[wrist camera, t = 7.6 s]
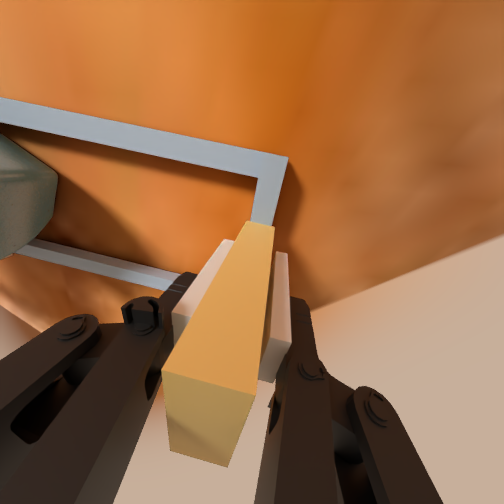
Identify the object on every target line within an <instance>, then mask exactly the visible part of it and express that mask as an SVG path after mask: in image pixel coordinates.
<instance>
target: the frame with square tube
mask: <svg viewBox="0 0 504 504" xmlns="http://www.w3.org/2000/svg"><path fill="white" fill-rule="evenodd" d="M0 122H2V123H7V124H11V125H16V126H21V127H25V128H30V129H35V130H39V131H44V132H48V133H53V134H58V135H62V136H67V137H72V138H76V139H81V140H86V141H90V142H95V143H99V144H104V145H109V146H113V147H118V148H123V149H127V150H132V151H136V152H141V153H146V154H150V155H155V156H160V157H164V158H169V159H173V160H178V161H183V162H187V163H192V164H197V165H201V166H206V167H210V168H215V169H220V170H224V171H229V172H234V173H238V174H243V175H248V176H252V177H257V178H258V182H257V187H256V192H255V198H254V203H253V208H252V214H251V219H250V221H246V222H245V224H244V226H243V228H242V229H241V231H240V233H239V235H238V236H237V238H236V240H235V242H234V243H233V245H232V247H231V249H230V250H229V252H228V254H227V256H226V257H225V259H224V261H223V263H222V264H221V266H220V268H219V270H218V271H217V273H216V275H215V277H214V278H213V280H212V282H211V284H210V285H209V287H208V289H207V291H206V292H205V294H204V296H203V298H202V299H201V301H200V303H199V305H198V306H197V308H196V310H195V312H194V313H193V315H192V317H191V319H190V320H189V322H188V324H187V326H186V327H185V329H184V331H183V333H182V334H181V336H180V338H179V340H178V341H177V343H176V345H175V347H174V348H173V350H172V352H171V354H170V355H169V357H168V359H167V361H166V362H165V364H164V366H163V368H162V369H161V372H162V381H163V390H164V399H165V408H166V417H167V426H168V435H169V445H170V451H173V452H176V453H180V454H183V455H187V456H190V457H193V458H197V459H200V460H203V461H207V462H210V463H214V464H217V465H221V466H224V467H228V465H229V462H230V459H231V457H232V454H233V451H234V449H235V447H236V444H237V442H238V439H239V437H240V434H241V432H242V429H243V426H244V424H245V421H246V419H247V417H248V414H249V412H250V409H251V406H252V404H253V401H254V399H255V396H256V389H257V380H258V372H259V363H260V354H261V346H262V337H263V328H264V319H265V310H266V302H267V293H268V284H269V275H270V266H271V258H272V249H273V240H274V231H275V227H272V222H273V218H274V214H275V210H276V206H277V202H278V198H279V194H280V190H281V186H282V182H283V178H284V174H285V170H286V166H287V162H288V158H289V157H285V156H280V155H275V154H270V153H265V152H260V151H256V150H251V149H246V148H241V147H236V146H232V145H227V144H222V143H217V142H213V141H208V140H203V139H198V138H193V137H189V136H184V135H179V134H174V133H170V132H165V131H160V130H155V129H150V128H146V127H141V126H136V125H131V124H127V123H122V122H117V121H112V120H107V119H103V118H98V117H93V116H88V115H83V114H79V113H74V112H69V111H64V110H60V109H55V108H50V107H45V106H40V105H36V104H31V103H26V102H21V101H17V100H12V99H7V98H2V97H0ZM14 253H16V254H20V255H24V256H28V257H32V258H36V259H40V260H44V261H48V262H52V263H56V264H60V265H64V266H68V267H72V268H76V269H80V270H84V271H88V272H92V273H96V274H100V275H104V276H108V277H112V278H116V279H120V280H124V281H128V282H132V283H136V284H140V285H144V286H148V287H152V288H156V289H160V290H164V291H166V290H167V289H168V287H169V286H170V285H171V284H172V283H173V282H174V280H175V279H176V278H177V277H178V276H180V275H181V274H178V273H174V272H169V271H165V270H161V269H157V268H153V267H149V266H145V265H141V264H137V263H133V262H129V261H125V260H121V259H117V258H113V257H108V256H104V255H100V254H96V253H92V252H88V251H84V250H80V249H76V248H72V247H68V246H64V245H60V244H56V243H52V242H47V241H43V240H39V239H35V238H34V239H32V240H31V241H30V242H29V243H28V244H26V245H25V246H24V247H22V248H21V249H19V250H17V251H16V252H14Z"/></svg>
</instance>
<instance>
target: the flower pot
mask: <svg viewBox="0 0 504 504" xmlns="http://www.w3.org/2000/svg"><path fill="white" fill-rule="evenodd" d="M57 183H58V175H57V174H56V172H55V171H54V170H52V169H51V168H50V167H48V166H47V165H45V164H44V163H42V162H41V161H39V160H38V159H37V158H35V157H34V156H32V155H31V154H29V153H28V152H26V151H25V150H24V149H22V148H21V147H19V146H18V145H17V144H15V143H14V142H12V141H11V140H10V139H8V138H7V137H5V136H4V135H2V134H1V133H0V259H2V258H4V257H6V256H8V255H10V254H12V253H14V252H16V251H17V250H19V249H21V248H22V247H24V246H25V245H26V244H28V243H29V242H30V241H31V240H32V239H34V238H35V237H36V236H37V235H38V234H39V233H40V232H41V230H42V229H43V228H44V227H45V226H46V224H47V223H48V222H49V221H50V219H51V218H52V216H53V211H54V203H55V195H56V189H57Z"/></svg>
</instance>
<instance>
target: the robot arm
mask: <svg viewBox="0 0 504 504" xmlns="http://www.w3.org/2000/svg"><path fill="white" fill-rule="evenodd" d="M234 242H235V241H232V240H227V239H224V240H223V241H222V242H221V244H220V245H219V247H218V248H217V249H216V251H215V252H214V254H213V255H212V256H211V258H210V259H209V260H208V262H207V263H206V265H205V266H204V267H203V269H202V270H201V272H200V273H199V274H194V273H190V272H185V273H183V274H181V275H180V276H178V277H177V278H176V279H175V280H174V282H173V283H172V284H171V285H170V286H169V287H168V289H167V290H166V291H165V292H164V293H163V294H162V295H161V296H160V298H159V299H158V298H154V297H139V298H135V299H133V300H131V301H129V302H127V303H126V304H125V305H123V306H122V307H121V310H122V315H123V319H124V323H109V324H99V322H98V319H97V318H96V317H95V316H93V315H89V314H81V315H75V316H71V317H68V318H65V319H64V320H62V321H60V322H58V323H56V324H55V325H53V326H51V327H50V328H48V329H47V330H45V331H44V332H42V333H41V334H39V335H38V336H36V337H35V338H33V339H32V340H30V341H29V342H27V343H26V344H24V345H23V346H21V347H20V348H18V349H17V350H15V351H14V352H12V353H10V354H9V355H7V356H6V357H5V358H3V359H1V360H0V504H113V502H114V499H115V497H116V494H117V492H118V489H119V487H120V484H121V482H122V479H123V477H124V474H125V472H126V469H127V466H128V464H129V462H130V459H131V457H132V454H133V452H134V449H135V447H136V444H137V442H138V439H139V437H140V434H141V432H142V429H143V427H144V424H145V422H146V419H147V417H148V414H149V411H150V409H151V407H152V404H153V402H154V399H155V397H156V394H157V392H158V389H159V387H160V384H161V382H162V372H161V369H162V368H163V366H164V364H165V362H166V361H167V359H168V357H169V355H170V354H171V352H172V350H173V348H174V347H175V345H176V343H177V341H178V340H179V338H180V336H181V334H182V333H183V331H184V329H185V327H186V326H187V324H188V322H189V320H190V319H191V317H192V315H193V313H194V312H195V310H196V308H197V306H198V305H199V303H200V301H201V299H202V298H203V296H204V294H205V292H206V291H207V289H208V287H209V285H210V284H211V282H212V280H213V278H214V277H215V275H216V273H217V271H218V270H219V268H220V266H221V264H222V263H223V261H224V259H225V257H226V256H227V254H228V252H229V250H230V249H231V247H232V245H233V243H234ZM310 317H311V315H310V309H309V307H308V305H307V304H306V302H305V300H303V299H299V298H295V297H291V296H289V276H288V254H287V253H283V252H279V251H276V254H275V257H274V261H273V264H272V268H271V271H270V275H269V284H268V293H267V302H266V310H265V319H264V328H263V337H262V346H261V354H260V363H259V372H258V380H262V381H266V382H269V383H273V382H274V380H275V378H276V385H275V392H274V394H273V396H272V398H271V400H270V403H269V405H268V407H269V408H270V414H269V419H268V426H267V431H266V437H265V443H264V449H263V454H262V460H261V466H260V472H259V478H258V484H257V489H256V495H255V501H254V504H443V502H442V500H441V498H440V496H439V494H438V492H437V490H436V488H435V486H434V484H433V482H432V480H431V479H430V477H429V475H428V473H427V471H426V469H425V467H424V465H423V463H422V461H421V459H420V457H419V455H418V453H417V452H416V449H415V447H414V445H413V443H412V442H411V440H410V438H409V436H408V434H407V432H406V430H405V428H404V426H403V424H402V422H401V420H400V418H399V416H398V414H397V413H396V411H395V410H394V408H393V407H392V405H391V404H390V402H389V401H388V400H387V399H386V398H385V397H384V396H383V395H382V394H380V393H379V392H377V391H376V390H374V389H372V388H370V387H367V386H362V387H358V388H357V389H356V390H353V389H352V388H350V387H348V386H347V385H345V384H343V383H342V382H340V381H338V380H337V379H335V378H334V377H333V376H331V375H330V374H329V373H328V372H327V370H326V368H325V366H324V365H323V363H322V362H321V361H320V360H319V358H318V355H317V350H316V344H315V338H314V332H313V327H312V321H311V318H310Z"/></svg>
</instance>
